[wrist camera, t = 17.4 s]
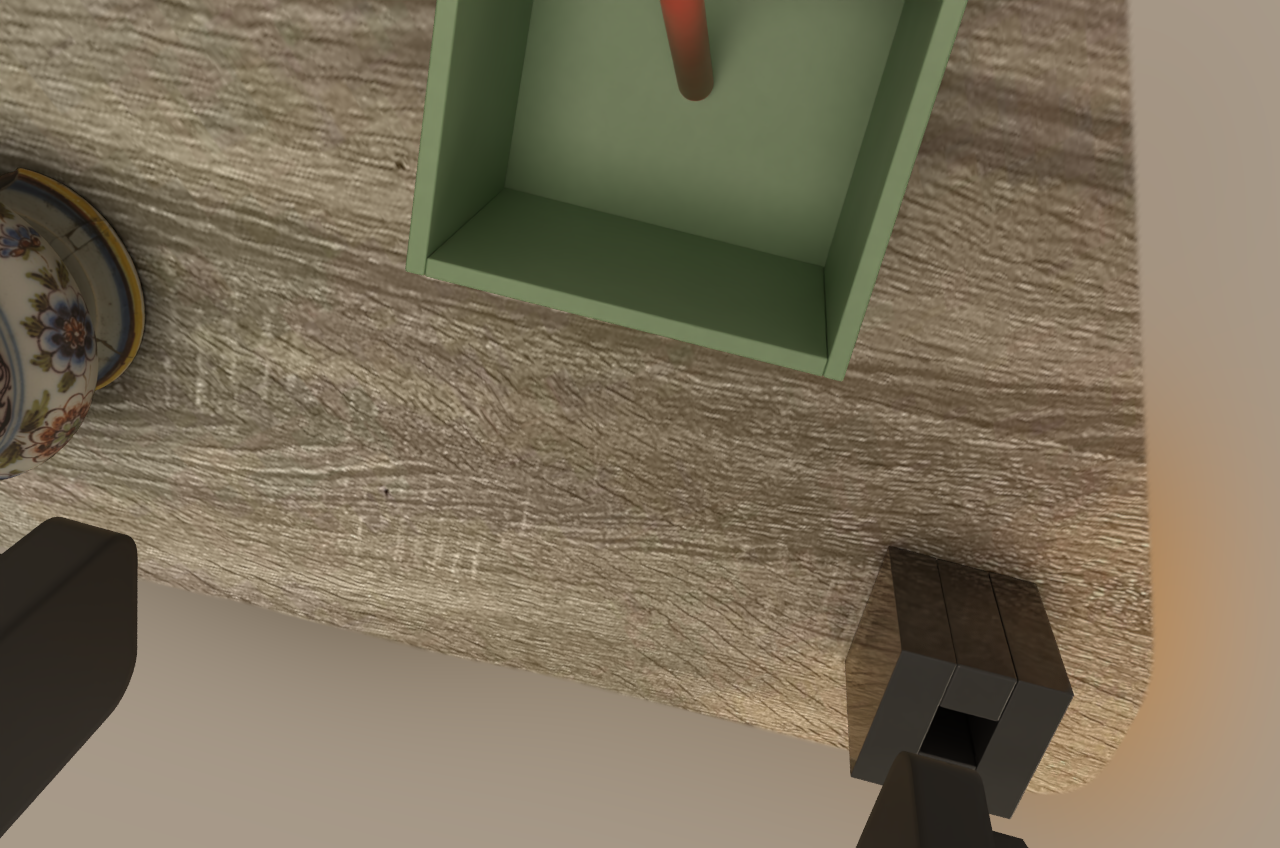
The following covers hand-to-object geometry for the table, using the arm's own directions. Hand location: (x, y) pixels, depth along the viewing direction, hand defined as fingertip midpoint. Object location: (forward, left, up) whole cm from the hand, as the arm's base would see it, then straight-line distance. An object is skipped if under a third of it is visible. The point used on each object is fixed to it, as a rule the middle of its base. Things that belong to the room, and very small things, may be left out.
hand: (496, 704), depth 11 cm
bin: (+1, -2, -30) cm, 30 cm away
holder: (-14, +17, -30) cm, 37 cm away
